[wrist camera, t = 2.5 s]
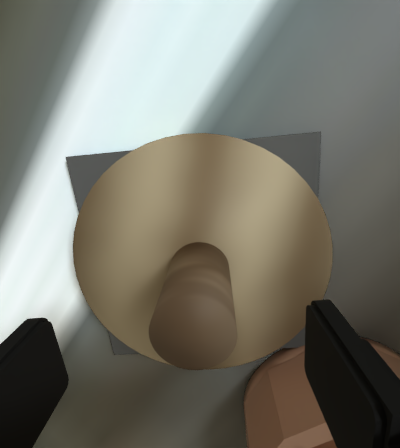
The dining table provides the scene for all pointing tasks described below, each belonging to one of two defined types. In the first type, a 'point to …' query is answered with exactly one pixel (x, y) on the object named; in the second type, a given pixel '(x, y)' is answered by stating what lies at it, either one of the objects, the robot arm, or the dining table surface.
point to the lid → (202, 251)
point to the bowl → (291, 402)
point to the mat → (278, 145)
